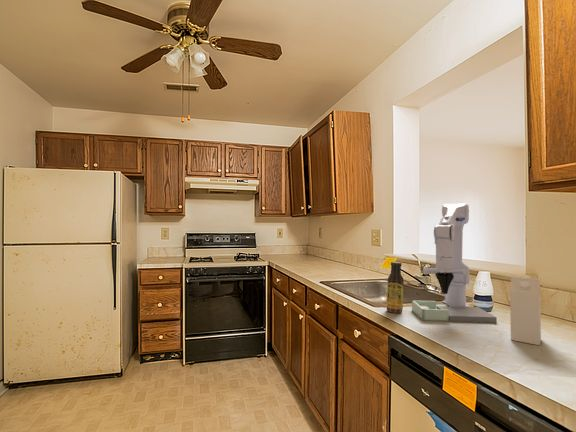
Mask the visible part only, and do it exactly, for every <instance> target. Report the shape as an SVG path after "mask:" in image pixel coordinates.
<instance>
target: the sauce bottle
mask: <svg viewBox="0 0 576 432" xmlns="http://www.w3.org/2000/svg"><path fill="white" fill-rule="evenodd" d="M390 266H391V270H390V274H389V275H388V278H387V287H386V311H387V312H389V313H392V314H400V313H402V312H403V308H404V278H403V276H402V262H399V261H391V262H390Z"/></svg>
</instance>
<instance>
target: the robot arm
mask: <svg viewBox="0 0 576 432" xmlns="http://www.w3.org/2000/svg"><path fill="white" fill-rule="evenodd" d="M441 207H442V208H441V213H442V214H441V215H442V218H440V221H439V223H438V224H437V225H436V226H434V228H433V238H434V245H435V267H423V274H424V275H426V274H433V275H435V278H436V280H437V281H438V284H439V287H440V291H441V294H443V295H444V300H442V303H445V305H446V306H451V307H471V306H470V305H468V304H467V297H466V296H467V292H466V291H467V289H466V288H467V286H468V285H469V284H470V281H471V277H470V276H471V274H470V267H469V266H468V265H467V264H466V263H464V262H463V233H464V232H463V231H464V226H465V225H466V224H468V223H469V220H470V217H469V216H470V215H469V214H470V210H469V204H468V203H466V202H465V203H444V204H443V205H442V206H441Z"/></svg>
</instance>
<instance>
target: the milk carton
mask: <svg viewBox="0 0 576 432" xmlns="http://www.w3.org/2000/svg"><path fill="white" fill-rule="evenodd" d="M540 280H541V279H540V278H534V277H533V278H532V277H523V276H521V277H520V276H513V275H512V276H511V277H510V289H509V296H510V297H509V298H510V299H509V300H510V301H509V304H510V305H509V307H510V316H509V317H510V340H511V341H516V342H520V343H525V344H531V345H535V346H536V345H537V346H541V340H542V322H541V320H542V319H541V318H542V317H541V309H542V308H541V307H542V306H541V281H540Z"/></svg>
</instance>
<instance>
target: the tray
mask: <svg viewBox="0 0 576 432" xmlns="http://www.w3.org/2000/svg"><path fill="white" fill-rule="evenodd" d="M421 306H427V307H428V308H429V309H423V308H422V307H421ZM436 306H437V301H436V300H411V311H412V312H413V313H414V314H415V315H416V316H417V317H418V318H420V320H421V321H427V322H429V321H430V322H431V321H433V322H450V321H449V310H442V309H437V308H436Z"/></svg>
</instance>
